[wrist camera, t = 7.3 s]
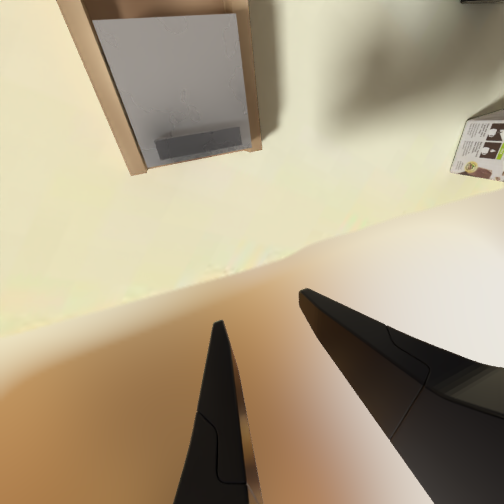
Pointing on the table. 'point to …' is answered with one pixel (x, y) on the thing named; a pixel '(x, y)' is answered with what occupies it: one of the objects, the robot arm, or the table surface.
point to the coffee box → (482, 148)
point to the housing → (93, 57)
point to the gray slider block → (179, 84)
